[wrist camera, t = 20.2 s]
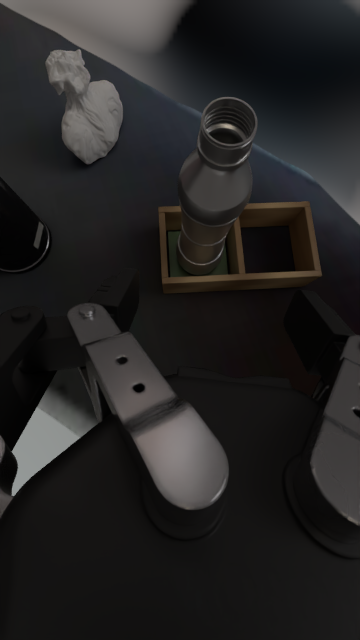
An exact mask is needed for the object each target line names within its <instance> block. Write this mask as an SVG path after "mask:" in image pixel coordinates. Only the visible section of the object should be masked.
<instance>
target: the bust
mask: <svg viewBox="0 0 360 640" xmlns="http://www.w3.org/2000/svg"><path fill="white" fill-rule="evenodd" d="M84 64H85V63H84V61H83V59H82V57H81V50H80V49H78V50H77V51H76V52H72V51H64V50H55V51H54V50H53V52H51V53H50V56H48V59H47V60H46V62H45V65H46V68H47V72H48V76H49V82H50V84H51V85H52V86H54V88H55V89H56V91H57V93H58V95H60V94H61V93H62V92H63V91H64V92H65V95H66V98H67V103H66V111H65V114H64V116H63V119H62V124H61V126H62V140H63V141H64V144H65V145H66V147H67V148H68V149H69V150H70V151H72V152H73V153H74V154H75V155H76V156H77V157H78V158H79V159H81V160H82V161H83V162H84V163H85V164H91V163H93V162H94V161H96V160H97V159H99V158H102V157H105V156H106V155H107V153H108V152H109V151H110V150H111V149H112V148H113V146H114V145H115V143H116V141H117V140H118V137H119V129H120V126H121V124H122V121H123V107H122V103H121V101H120V100H119V94H118V92H117V91H116V90H115V87H114V85H113V84H112V83H110V82H108V81H106V80H101V81H99V82H91V83H90V84H89V80H90V74H89V72H88V70H87V69H86V68H85V67H84V66H83V65H84Z"/></svg>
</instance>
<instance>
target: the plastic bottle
mask: <svg viewBox="0 0 360 640" xmlns="http://www.w3.org/2000/svg"><path fill="white" fill-rule="evenodd" d="M256 129H257V117H256V114H255V112H254V110H253V109H252V108H251V107H250V105H248V104H247V103H246V102H244V101H243V100H240V99H238V98H233V97H222V98H218V99H216V100H214V101H212V102H211V103H209V104H208V105H207V107H206V108H205V110H204V112H203V114H202V118H201V124H200V131H199V134H198V138H197V148H196V149H195V150H194V151H193V152H192V153H191V154H190V155H189V156H188V157H187V159H186V160H185V162H184V164H183V166H182V169H181V171H180V174H179V177H178V196H179V202H180V208H181V214H182V227H181V232H180V235H179V237H178V240H177V244H176V255H177V259H178V261H179V264H180V265H181V267H182V268H183V269H184V270H185V271H187V272H188V273H191V274H194V275H204V274H207V273H209V272H211V271H212V270H213V269H214V268H215V267H216V266H217V265H218V264H219V262H220V261H221V258H222V255H223V249H224V242H225V238H226V235H227V234H228V232H229V230H230V228H231V226H232V225H233V223H234V222H235V221H236V219H237V218H238V217H239V215H240V214H241V213H242V211H243V210H244V208H245V206H246V205H247V203H248V201H249V199H250V196H251V190H252V172H251V168H250V165H249V162H248V157H249V155H250V152H251V149H252V142H253V139H254V136H255V134H256Z"/></svg>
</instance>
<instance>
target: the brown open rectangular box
mask: <svg viewBox="0 0 360 640" xmlns="http://www.w3.org/2000/svg"><path fill="white" fill-rule="evenodd" d="M158 209H159V230H160V251H161V271H162V286H163V292H164V294H167V293H187V292H207V291H227V290H247V289H267V288H287V287H303V286H305V285H307V284H308V283H310V282H312V281H314V280H315V279H317V278H319V277H321V276H322V274H321V268H320V262H319V256H318V250H317V244H316V238H315V232H314V226H313V220H312V214H311V208H310V202H282V203H255V204H247V205H246V206H245V208H244V210H243V211H242V213H241V214H240V215H239V217H238V218H237V219H236V221H235V222H234V223H233V225H232V226H231V228H230V230H229V232H228V234H227V235H226V241H227V251H228V261H229V271H230V275H228V270H227V259H226V249H225V242H224V249H223V255H222V258H221V261H220V262H219V264H218V265H217V266H216V267H215V268H214V269H213V270H212V271H211V272H209V273H207V274H204V275H194V274H191V273H188V272H187V271H185V270H184V269H183V268H182V267H181V265H180V264H179V261H178V259H177V255H176V244H177V240H178V237H179V235H180V232H181V231H177V232H168V242H169V260H170V277H169V278H168V261H167V242H166V231H167V230H181V227H182V214H181V208H180V206H173V207H158ZM266 226H289V232H290V238H291V245H292V252H293V258H294V265H295V272H274V273H253V274H245V266H244V257H243V248H242V239H241V230H240V228H242V227H266Z"/></svg>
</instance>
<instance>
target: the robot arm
mask: <svg viewBox="0 0 360 640" xmlns="http://www.w3.org/2000/svg"><path fill="white" fill-rule="evenodd" d="M51 241H52V240H51V233H50V230H49V228H48V226H47V225H46V224H45V223H44V221H43V220H42V219H41V218H39V217H38V216H37V215H36V214H35V213H34V212H33V211H32V210H31V209H30V208H29V207H28V206H27V204H26V203H25V202H24V201H23V200H22V199H21V198H20V197H19V196H18V195H17V194H16V193H15V192H14V191H13V190H12V189H11V188H10V187H9V186H8V184H7V183H6V182H5V181H4V180H3V179H2V178H1V177H0V270H1V271H4V272H7V273H23V272H27V271H29V270H32V269H34V268H35V267H37V266H38V265H39V264H41V263H42V262H43V261H44V259H45V258H46V257H47V255H48V253H49V251H50V248H51ZM138 304H139V270H137V269H129V268H123V269H122V270H121V272H120V273H119V275H118V276H117V277H116V276H111V277H109V278H107V279H106V280H104V281H103V283H102V284H101V286H100V287H99V288H98V289H97V291H96V292H95V293H94V295H93V296H92V297H91V299H90V300H89V302H88V303H83V304H79V305H76V306H74V307H72V308H71V309H70V310H69V311H68V313H67V316H60V317H46V318H45V317H44V313H43V311H42V310H41V309H40V308H38V307H34V306H22V307H17V308H13V309H10V310H8V311H6V312H4V313H3V314H2V315H0V640H360V335H355V334H354V333H353V331H352V330H351V329H350V328H349V327H348V326H347V325H346V323H345V322H344V321H342V319H341V318H340V317H339V316H338V314H337V313H336V312H335V311H334V310H333V309H332V308H331V307H329V306H328V305H326V304H325V303H324V302H323V301H322V299H321V298H320V297H319V296H318V295H317V294H316V292H313V291H305V290H297V291H296V292H295V294H294V296H293V298H292V301H291V303H290V305H289V307H288V310H287V312H286V314H285V317H284V327H285V329H286V331H287V333H288V335H289V337H290V339H291V341H292V343H293V345H294V347H295V349H296V351H297V353H298V355H299V357H300V359H301V361H302V363H303V365H304V367H305V369H306V371H307V373H308V374H312V375H321V379H320V380H319V382H318V383H317V385H316V387H315V390H314V392H313V394H312V396H311V397H310V396H309V395H307V394H305V393H303V392H301V391H298V390H296V389H293V388H292V386H291V384H290V381H289V379H285V378H277V377H269V376H253V377H242V378H232V377H229V376H226V375H223V374H220V373H217V372H213V371H210V370H207V369H201V368H193V367H185V366H178V372H177V374H173V375H168V376H164V377H163V376H162V374H161V373H160V372H159V370H158V369H157V368H156V366H155V365H154V364H153V362H152V361H151V359H150V358H149V357H148V355H147V354H146V353H145V351H144V350H143V349H142V347H141V346H140V344H139V343H138V342H137V340H136V339H135V338H134V336H133V335H132V334H131V333H130V332H129V329H130V326H131V324H132V321H133V319H134V316H135V314H136V311H137V308H138ZM77 367H78V368H79V371H80V373H81V375H82V378H83V380H84V383H85V385H86V388H87V390H88V393H89V395H90V397H91V400H92V403H93V406H94V409H95V413H96V416H97V419H98V422H99V423H98V424H97V425H96V426H95V427H93V428H92V429H91V430H90V431H88V432H87V433H86V434H85V435H83V436H82V437H81V438H80V439H78V440H77V441H76V442H75V443H73V444H72V445H71V446H70V447H68V448H67V449H66V450H65V451H63V452H62V453H61V454H60V455H58V456H57V457H56V458H55V459H53V460H52V461H51V462H50V463H48V464H47V465H46V466H45V467H43V468H42V469H41V470H40V471H38V472H37V473H36V474H35V475H34V476H32V477H31V478H30V479H29V480H28V481H27V482H26V483H25V484H24V485H23V486H22V487H21V489H20V490H19V491H18V492H17V493H16V495H15V496H12V486H13V482H14V479H15V477H16V474H17V469H18V464H17V460H16V458H15V456H14V455H13V453H12V452H11V451H12V450H13V448H14V446H15V445H16V443H17V441H18V439H19V437H20V436H21V434H22V432H23V430H24V429H25V427H26V425H27V423H28V421H29V420H30V418H31V416H32V414H33V412H34V411H35V409H36V407H37V406H38V404H39V402H40V400H41V398H42V397H43V395H44V393H45V391H46V390H47V388H48V386H49V384H50V382H51V381H52V379H53V377H54V375H55V374H56V372H57V370H62V369H69V368H77Z"/></svg>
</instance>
